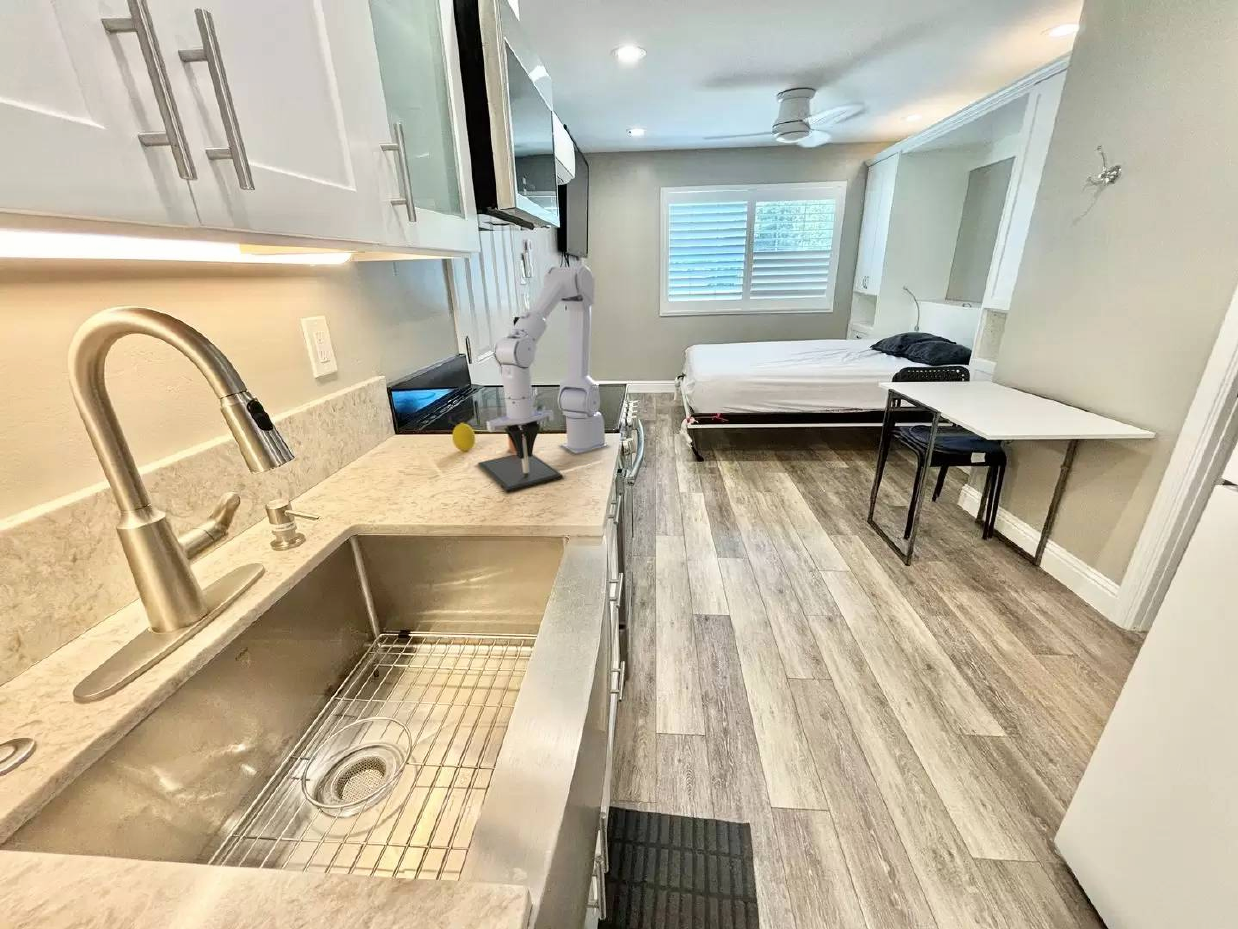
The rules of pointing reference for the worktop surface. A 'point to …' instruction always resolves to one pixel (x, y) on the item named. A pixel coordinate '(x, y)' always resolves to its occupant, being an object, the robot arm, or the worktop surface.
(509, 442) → the holder
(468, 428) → the lemon
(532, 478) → the tablet
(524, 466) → the stylus
